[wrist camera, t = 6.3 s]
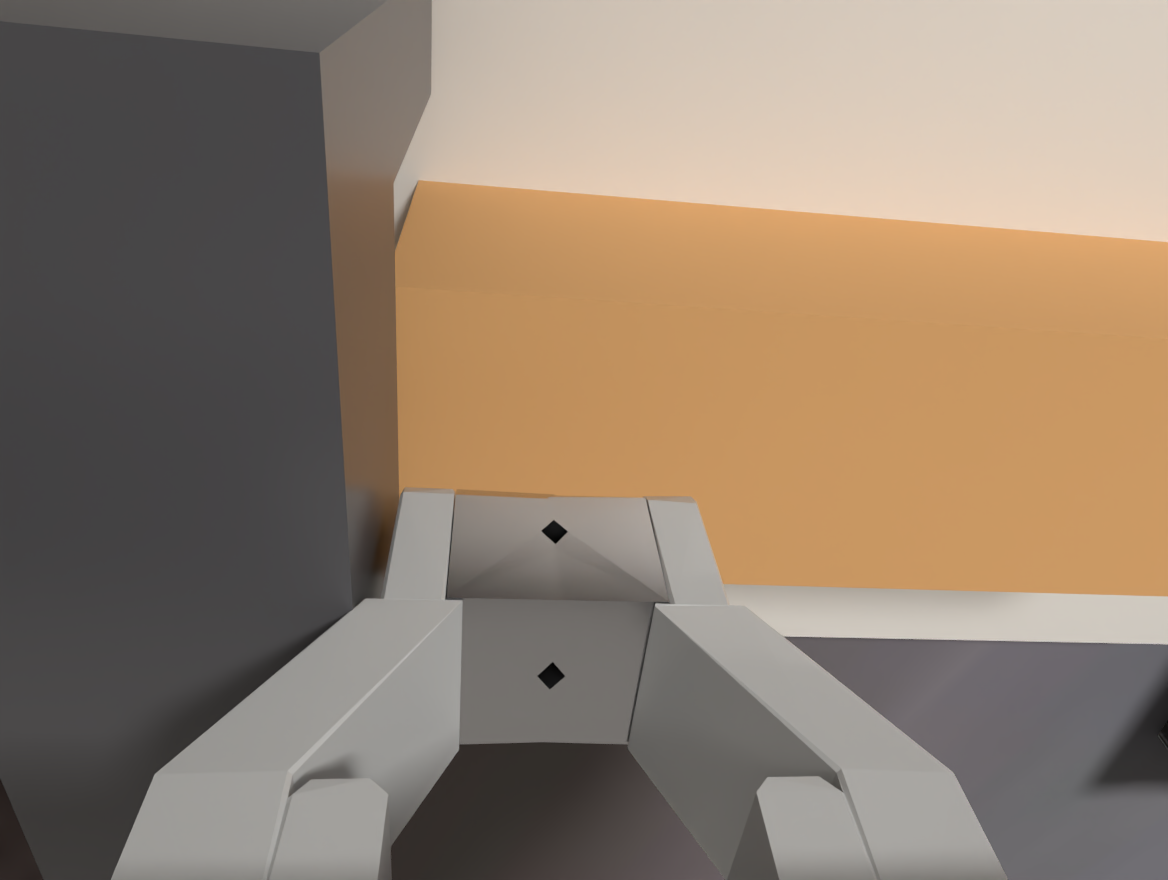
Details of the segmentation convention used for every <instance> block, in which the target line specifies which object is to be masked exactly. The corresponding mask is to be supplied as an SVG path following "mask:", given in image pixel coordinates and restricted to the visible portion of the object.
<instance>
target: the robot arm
mask: <svg viewBox="0 0 1168 880" xmlns="http://www.w3.org/2000/svg"><path fill="white" fill-rule="evenodd" d="M528 742H558V743H595V744H628V747H627V749H628V750H629V751H630V753H631V754H632V755H633V757H634V758H635V759H636V761H637V762H638V763H639V765H640V766H641V767H642V769H643V770H644V771H645V773H646V774H647V776H648V777H649V778H650V780H651V781H652V782H653V784H654V785H655V786H656V788H657V789H658V790H659V792H660V793H661V794H662V796H663V797H664V798H665V800H666V801H667V802H668V804H669V805H670V806H671V808H672V809H673V810H674V812H675V813H676V814H677V816H678V817H679V818H680V820H681V821H682V822H683V824H684V825H685V826H686V828H687V829H688V830H689V832H690V833H691V834H692V836H693V837H694V838H695V840H696V841H697V842H698V844H699V845H700V846H701V848H702V849H703V850H704V852H705V853H706V854H707V856H708V857H709V858H710V860H711V861H712V862H713V864H714V865H715V866H716V868H717V869H718V870H719V872H720V873H721V874H722V876H723V877H724V878H725V880H1008V878H1007V877H1006V875H1005V873H1004V871H1003V869H1002V867H1001V865H1000V863H999V861H998V859H997V857H996V855H995V853H994V851H993V849H992V847H991V845H990V843H989V841H988V839H987V837H986V835H985V833H984V832H983V830H982V828H981V826H980V824H979V822H978V820H977V818H976V816H975V814H974V812H973V810H972V808H971V806H970V804H969V802H968V800H967V798H966V796H965V794H964V792H963V790H962V788H961V786H960V785H959V783H958V781H957V779H956V777H955V775H954V773H953V772H952V771H951V770H949V769H948V768H947V767H946V766H944V765H943V764H942V763H941V762H939V761H938V760H937V759H936V758H934V757H933V756H932V755H931V754H929V753H928V752H927V751H926V750H924V749H923V748H922V747H921V746H919V745H918V744H917V743H916V742H914V741H913V740H912V739H911V738H909V737H908V736H907V735H906V734H904V733H903V732H902V731H901V730H899V729H898V728H897V727H896V726H894V725H893V724H892V723H891V722H889V721H888V720H887V719H886V718H884V717H883V716H882V715H881V714H879V713H878V712H877V711H876V710H874V709H873V708H872V707H871V706H869V705H868V704H867V703H866V702H864V701H863V700H862V699H861V698H859V697H858V696H857V695H856V694H854V693H853V692H852V691H851V690H849V689H848V688H847V687H846V686H844V685H843V684H842V683H841V682H839V681H838V680H837V679H836V678H834V677H833V676H832V675H831V674H829V673H828V672H827V671H826V670H824V669H823V668H822V667H821V666H819V665H818V664H817V663H816V662H814V661H813V660H812V659H811V658H809V657H808V656H807V655H806V654H804V653H803V652H802V651H801V650H799V649H798V648H797V647H796V646H794V645H793V644H792V643H791V642H789V641H788V640H787V639H786V638H784V637H783V636H782V635H781V634H779V633H778V632H777V631H776V630H774V629H773V628H772V627H771V626H769V625H768V624H767V623H766V622H764V621H763V620H762V619H761V618H759V617H758V616H757V615H756V614H754V613H753V612H752V611H751V610H749V609H748V608H747V607H746V606H735V605H730V604H729V601H728V597H727V594H726V591H725V588H724V585H723V582H722V579H721V576H720V573H719V570H718V566H717V563H716V560H715V557H714V554H713V551H712V548H711V545H710V542H709V539H708V535H707V532H706V529H705V526H704V523H703V520H702V517H701V514H700V511H699V508H698V504H697V502H696V501H695V500H694V499H693V498H692V497H691V496H643V498H639V497H599V496H559V495H555V494H537V493H519V492H501V491H482V490H464V489H457V491H456V492H455V491H454V490H453V489H441V488H413V487H405V488H404V490H403V491H402V493H401V495H400V499H399V504H398V509H397V514H396V520H395V525H394V530H393V536H392V541H391V546H390V551H389V557H388V562H387V567H386V573H385V578H384V583H383V589H382V594H381V599H363V600H362V601H361V602H360V603H359V604H357V605H356V606H355V607H354V608H353V610H351V611H349V612H348V613H347V614H346V615H344V616H343V617H342V618H341V619H340V620H338V621H337V622H336V623H335V624H334V625H332V626H331V627H330V628H329V629H328V630H326V631H325V632H324V633H323V634H322V635H320V636H319V637H318V638H317V639H316V640H314V641H313V642H312V643H311V644H310V645H308V646H307V647H306V648H305V649H304V650H302V651H301V652H300V653H299V654H298V655H296V656H295V657H294V658H293V659H292V660H291V661H289V662H288V663H287V664H286V665H285V666H283V667H282V668H281V669H280V670H279V671H277V672H276V673H275V674H274V675H273V676H271V677H270V678H269V679H268V680H267V681H265V682H264V683H263V684H262V685H261V686H259V687H258V688H257V689H256V690H255V691H253V692H252V693H251V694H250V695H249V696H247V697H246V698H245V699H244V700H243V701H241V702H240V703H239V704H238V705H237V706H236V707H234V708H233V709H232V710H231V711H230V712H228V713H227V714H226V715H225V716H224V717H222V718H221V719H220V720H219V721H218V722H216V723H215V724H214V725H213V726H212V727H210V728H209V729H208V730H207V731H206V732H204V733H203V734H202V735H201V736H200V737H198V738H197V739H196V740H195V741H194V742H192V743H191V744H190V745H189V746H188V747H187V748H185V749H184V750H183V751H182V752H181V753H179V754H178V755H177V756H176V757H175V758H173V759H172V760H171V761H170V762H169V763H167V764H166V765H165V766H164V767H163V768H161V769H160V770H159V771H158V772H157V773H155V775H154V777H153V779H152V782H151V784H150V787H149V789H148V791H147V794H146V796H145V799H144V801H143V803H142V806H141V808H140V811H139V813H138V815H137V818H136V820H135V823H134V825H133V827H132V830H131V832H130V835H129V837H128V839H127V842H126V844H125V847H124V849H123V851H122V854H121V856H120V859H119V861H118V863H117V866H116V868H115V871H114V873H113V875H112V878H111V880H392V871H391V848H390V847H391V846H392V844H393V843H394V841H395V840H396V839H397V837H398V836H399V834H400V833H401V831H402V830H403V829H404V827H405V826H406V824H407V823H408V821H409V820H410V819H411V817H412V816H413V814H414V813H415V812H416V810H417V809H418V807H419V806H420V804H421V803H422V802H423V800H424V799H425V797H426V796H427V795H428V793H429V792H430V790H431V789H432V787H433V786H434V785H435V783H436V782H437V780H438V779H439V777H440V776H441V775H442V773H443V772H444V770H445V769H446V768H447V766H448V765H449V763H450V762H451V760H452V759H453V758H454V756H455V755H456V753H457V752H458V751H459V744H491V743H528Z"/></svg>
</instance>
